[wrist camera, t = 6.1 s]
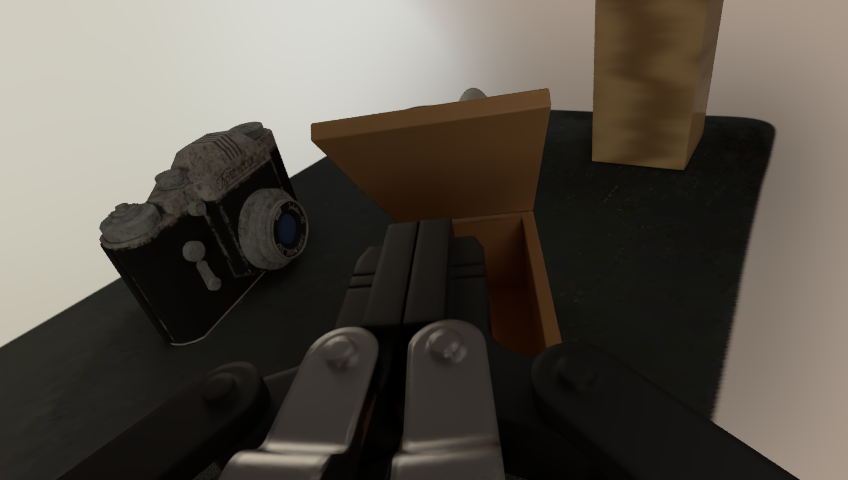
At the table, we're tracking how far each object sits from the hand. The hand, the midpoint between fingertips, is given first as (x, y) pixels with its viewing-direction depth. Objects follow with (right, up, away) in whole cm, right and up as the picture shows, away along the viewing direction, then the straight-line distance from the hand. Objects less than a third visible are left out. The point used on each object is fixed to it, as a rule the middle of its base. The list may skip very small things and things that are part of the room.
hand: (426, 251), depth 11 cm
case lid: (+1, +3, +8) cm, 8 cm away
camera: (-12, -2, +22) cm, 25 cm away
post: (+19, +8, +28) cm, 35 cm away
